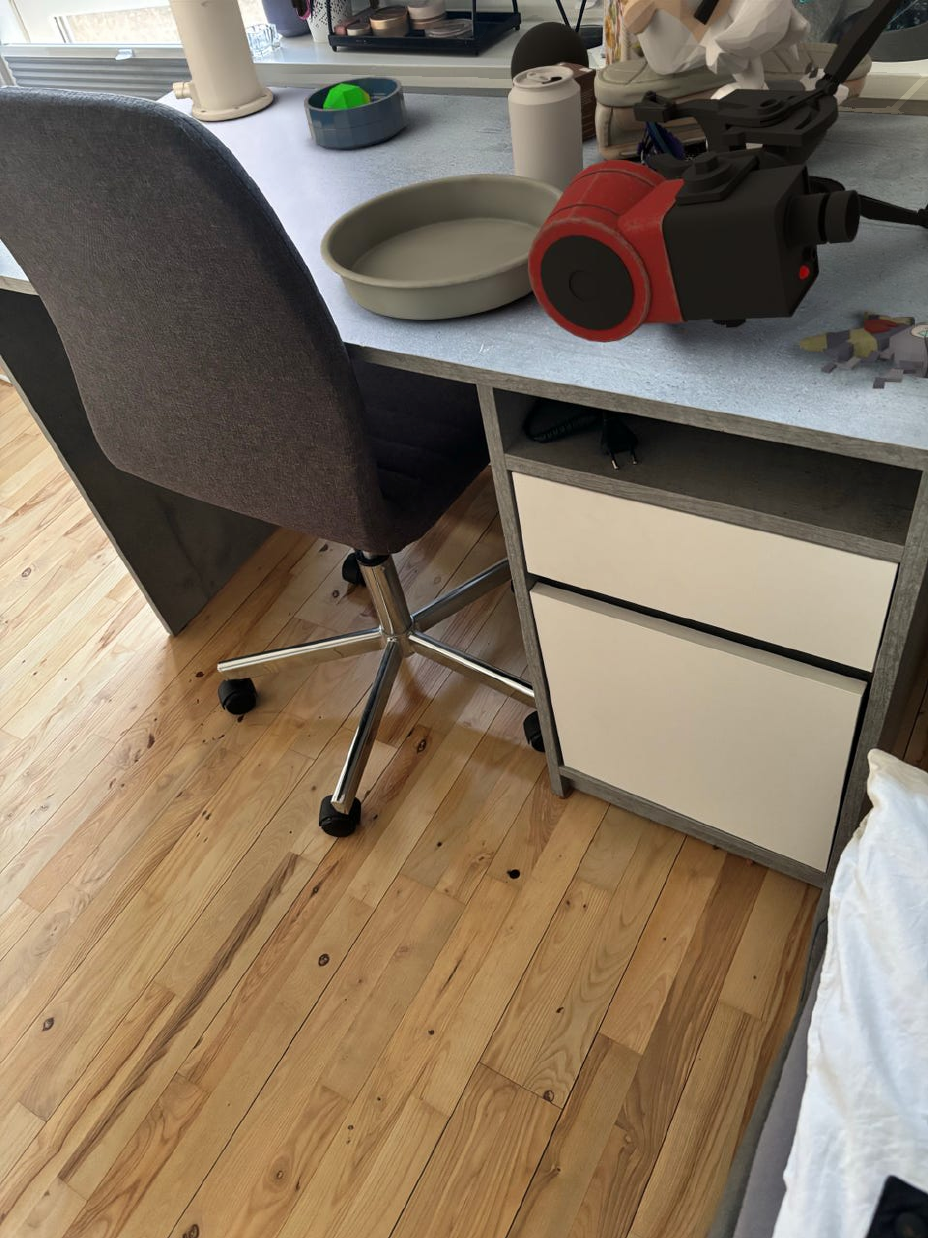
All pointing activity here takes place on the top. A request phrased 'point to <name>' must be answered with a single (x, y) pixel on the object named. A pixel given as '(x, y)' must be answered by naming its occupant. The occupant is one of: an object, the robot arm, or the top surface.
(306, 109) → the bowl
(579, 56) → the decorative ball
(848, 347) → the toy
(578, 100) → the can
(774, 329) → the top surface
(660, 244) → the camera
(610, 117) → the loafer
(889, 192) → the top surface
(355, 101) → the apple
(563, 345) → the top surface
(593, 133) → the box
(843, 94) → the giant panda
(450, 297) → the cake pan
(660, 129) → the spaceship
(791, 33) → the toy
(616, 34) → the decorative jar
